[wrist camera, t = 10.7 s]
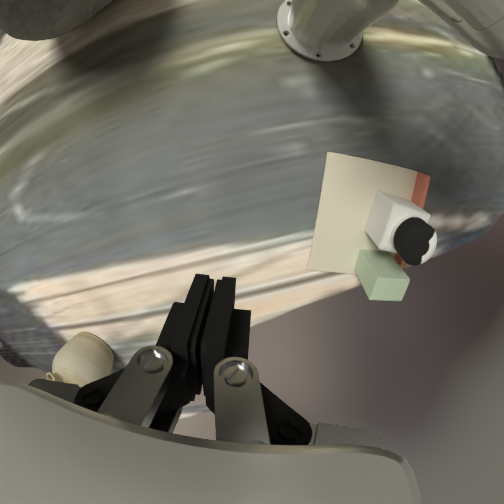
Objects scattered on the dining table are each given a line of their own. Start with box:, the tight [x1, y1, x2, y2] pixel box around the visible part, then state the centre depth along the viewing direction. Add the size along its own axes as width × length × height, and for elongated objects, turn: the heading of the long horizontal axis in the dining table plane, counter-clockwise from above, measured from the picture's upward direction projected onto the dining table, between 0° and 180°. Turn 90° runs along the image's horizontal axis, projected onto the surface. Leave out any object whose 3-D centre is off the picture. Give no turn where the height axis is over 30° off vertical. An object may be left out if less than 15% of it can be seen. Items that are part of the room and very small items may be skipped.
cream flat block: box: [307, 152, 431, 274], centre depth 41 cm, size 20×17×3 cm
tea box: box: [354, 249, 410, 301], centre depth 41 cm, size 4×6×9 cm, turn 85°
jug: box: [47, 332, 114, 387], centre depth 50 cm, size 15×16×25 cm
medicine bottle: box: [365, 191, 437, 265], centre depth 36 cm, size 7×7×12 cm
